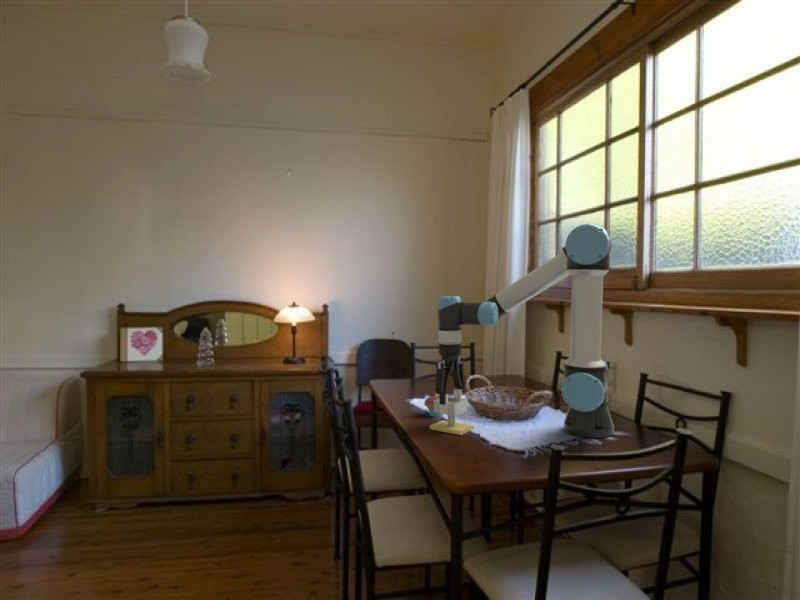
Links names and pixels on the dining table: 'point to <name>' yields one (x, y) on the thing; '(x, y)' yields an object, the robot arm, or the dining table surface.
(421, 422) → the dining table surface
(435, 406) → the beige square box
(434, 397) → the cupcake
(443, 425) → the keeper post
